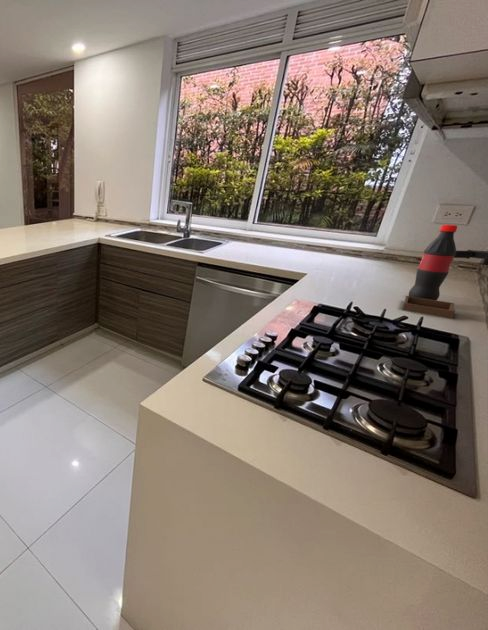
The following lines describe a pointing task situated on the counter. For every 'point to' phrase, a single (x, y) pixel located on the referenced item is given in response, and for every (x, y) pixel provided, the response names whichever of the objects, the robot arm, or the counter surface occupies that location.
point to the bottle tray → (429, 307)
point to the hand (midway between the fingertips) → (466, 257)
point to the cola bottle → (435, 265)
